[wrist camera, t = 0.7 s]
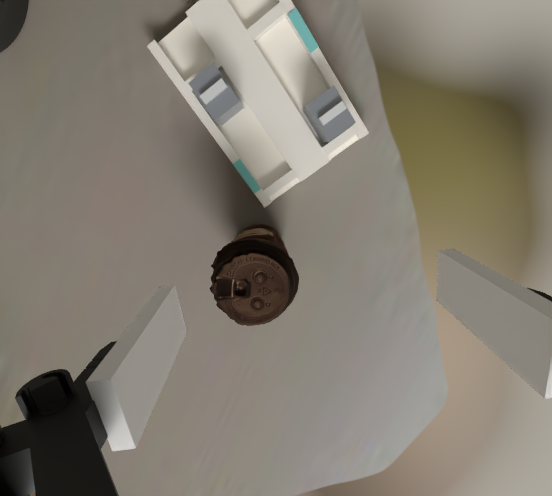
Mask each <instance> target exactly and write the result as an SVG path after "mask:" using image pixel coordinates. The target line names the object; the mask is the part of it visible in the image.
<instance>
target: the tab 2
mask: <svg viewBox="0 0 552 496" xmlns="http://www.w3.org/2000/svg"><path fill="white" fill-rule="evenodd" d="M303 112H304V114H305V116H306V117H307V119H308V120H309V122H310V124H311V125H312V127H313V128H314V130H315V131H316V133H317V135H318V136H319V138H320V139H321V141H322V142H323V143H325V142H330V141H331V140H333V139H334V138H335V137H337V136H338V135H339V134H341V133H342V132H344V131H345V130H346V129H348V128H349V127H350V126H352V125H353V124H355V123H356V122H355V120H354V118H353V117H352V115H351V113H350V112H349V110H348V108H347V107H346V105H345V103H344V101H343V100H342V98H341V96H340V95H339V93H338V91H337V90H336V88H335V86H334V85H333V86H332V87H331V88H329V89H328V90H327V91H325V92H324V93H323V94H322V95H320V96H319V97H318V98H316V99H315V100H314V101H312V102H311V103H310V104H308V105H307V106H306V108H305V109H304V111H303Z"/></svg>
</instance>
